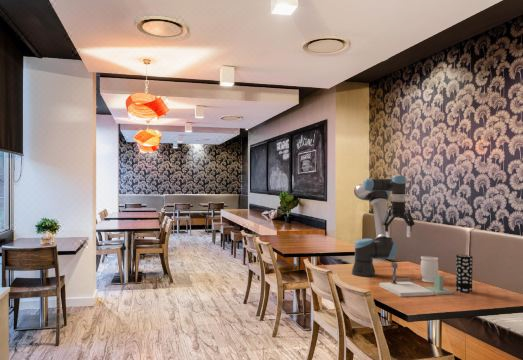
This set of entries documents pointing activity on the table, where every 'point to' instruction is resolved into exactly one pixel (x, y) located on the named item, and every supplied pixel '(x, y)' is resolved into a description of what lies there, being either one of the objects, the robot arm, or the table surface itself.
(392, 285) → the lock base
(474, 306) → the table surface
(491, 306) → the table surface
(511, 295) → the table surface
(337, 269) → the table surface
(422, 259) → the jar
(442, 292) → the cover
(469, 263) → the white-spotted black cylinder
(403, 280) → the grey angled block piece
